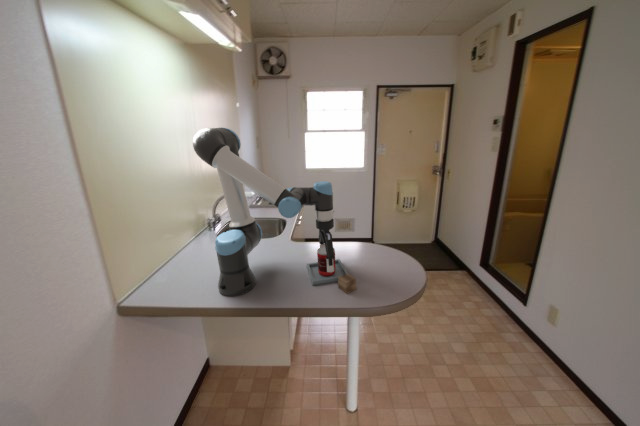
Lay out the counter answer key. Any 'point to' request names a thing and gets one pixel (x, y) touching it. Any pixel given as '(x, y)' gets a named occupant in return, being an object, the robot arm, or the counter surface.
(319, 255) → the canned food
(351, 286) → the walnut block
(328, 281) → the tray
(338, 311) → the counter surface
